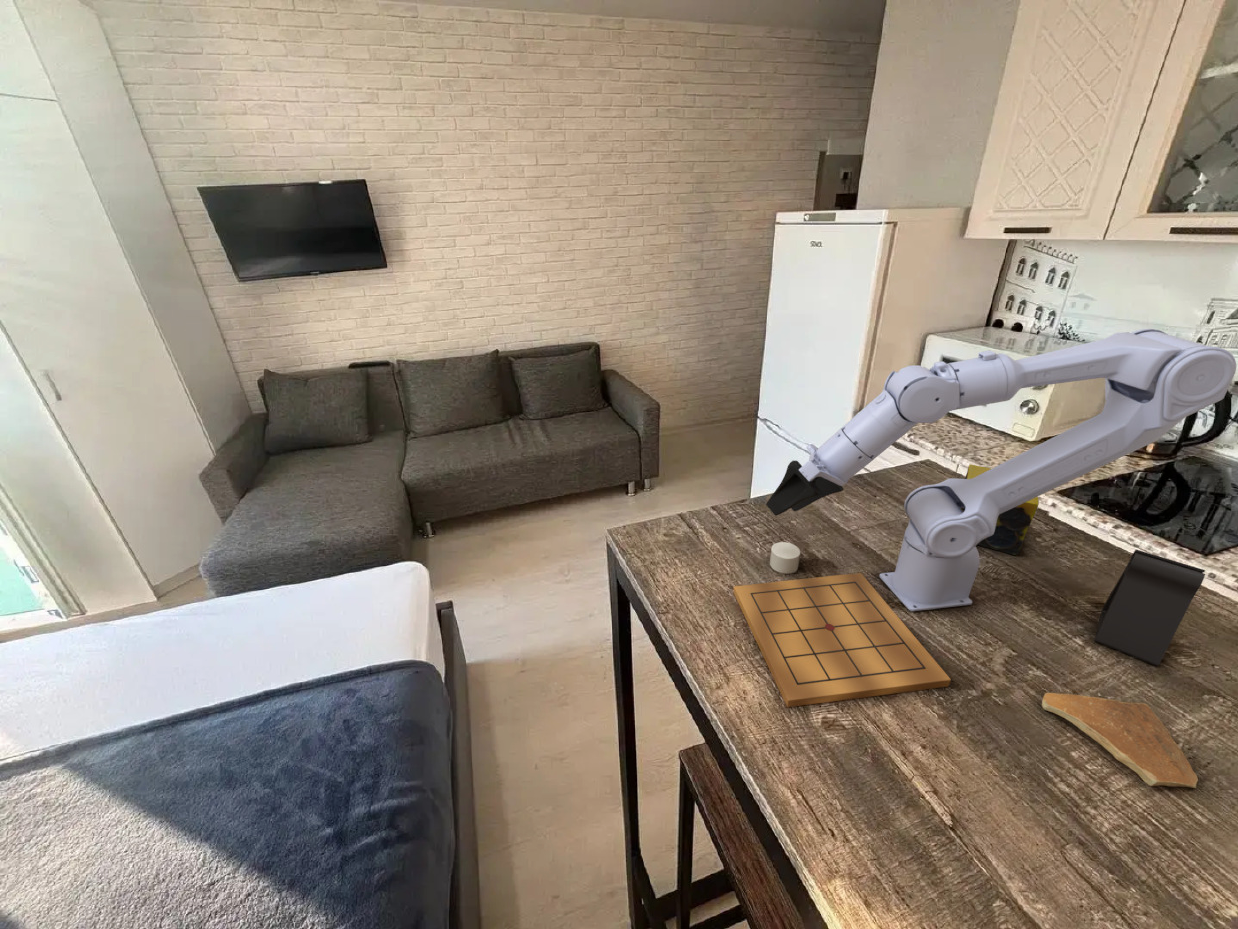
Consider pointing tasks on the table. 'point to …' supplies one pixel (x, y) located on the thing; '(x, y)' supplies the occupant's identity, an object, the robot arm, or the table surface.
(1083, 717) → the pottery shard
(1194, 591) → the phone stand
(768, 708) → the table surface
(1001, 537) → the yellow cube with hollow
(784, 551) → the white stone
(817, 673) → the game board
